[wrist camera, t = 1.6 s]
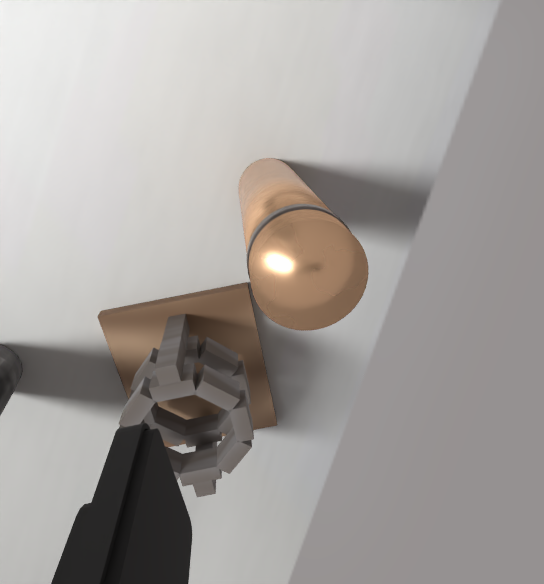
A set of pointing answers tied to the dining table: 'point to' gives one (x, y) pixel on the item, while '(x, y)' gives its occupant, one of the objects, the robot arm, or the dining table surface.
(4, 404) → the beverage cup
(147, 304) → the collar stand
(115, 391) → the dining table surface
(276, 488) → the dining table surface
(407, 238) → the dining table surface
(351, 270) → the copper tube
